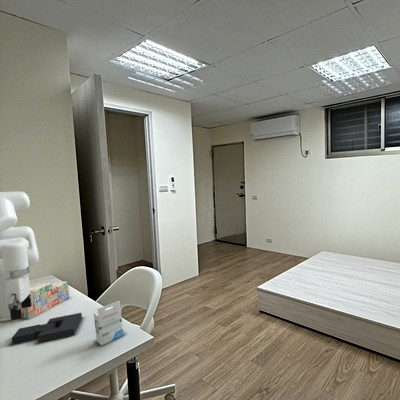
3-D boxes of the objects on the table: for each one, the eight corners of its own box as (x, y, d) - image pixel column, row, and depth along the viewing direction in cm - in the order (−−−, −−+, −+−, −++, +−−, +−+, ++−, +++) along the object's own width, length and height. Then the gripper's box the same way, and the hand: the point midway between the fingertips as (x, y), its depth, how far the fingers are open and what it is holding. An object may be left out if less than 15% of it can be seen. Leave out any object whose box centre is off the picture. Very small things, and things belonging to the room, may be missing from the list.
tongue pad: (12, 344, 104) (11, 337, 104) (20, 334, 110) (19, 328, 110) (51, 336, 109) (50, 329, 108) (56, 327, 115) (55, 321, 115)
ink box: (118, 330, 111) (115, 297, 109) (123, 335, 107) (120, 300, 106) (95, 341, 104) (92, 305, 103) (100, 346, 101) (97, 309, 99)
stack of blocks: (59, 296, 145) (58, 275, 143) (69, 298, 143) (67, 276, 142) (17, 318, 124) (15, 292, 123) (28, 319, 123) (26, 294, 121)
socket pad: (38, 342, 104) (37, 336, 104) (50, 324, 117) (49, 318, 117) (74, 334, 109) (73, 328, 109) (82, 318, 122) (81, 312, 121)
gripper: (14, 266, 112) (19, 304, 114) (-7, 282, 96) (-1, 326, 98) (36, 264, 115) (40, 301, 117) (19, 279, 99) (24, 322, 101)
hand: (21, 312), depth 108 cm, fingers open, 9 cm apart
